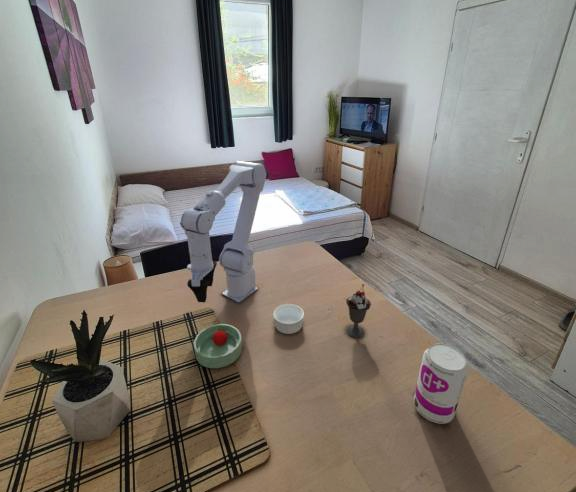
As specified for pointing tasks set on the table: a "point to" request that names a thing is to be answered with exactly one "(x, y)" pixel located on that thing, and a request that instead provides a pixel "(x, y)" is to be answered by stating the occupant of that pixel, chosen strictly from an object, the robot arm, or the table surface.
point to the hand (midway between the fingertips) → (205, 293)
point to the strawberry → (220, 337)
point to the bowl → (217, 347)
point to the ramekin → (288, 318)
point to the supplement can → (440, 383)
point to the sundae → (357, 312)
